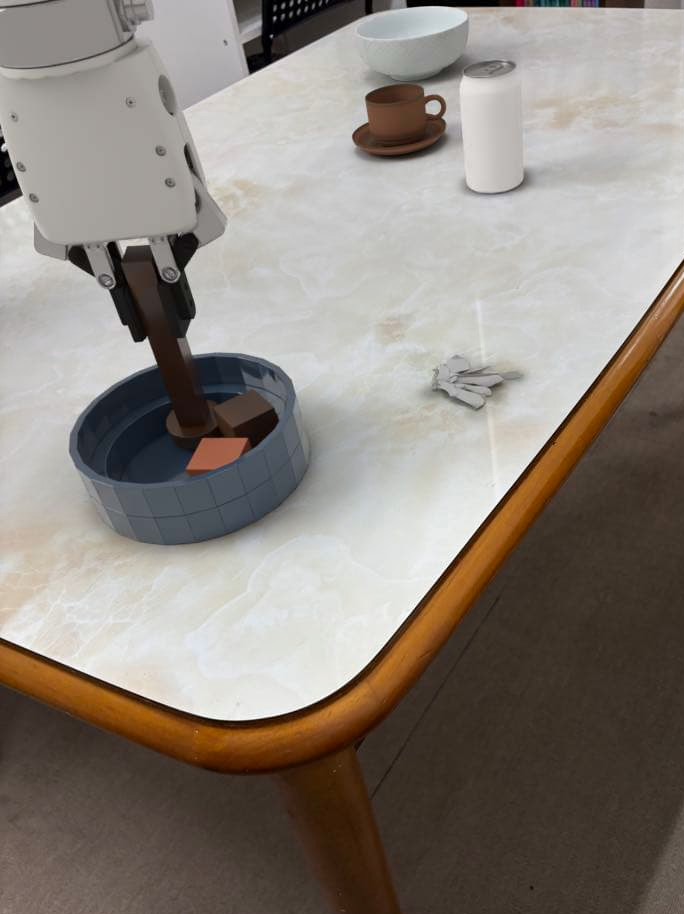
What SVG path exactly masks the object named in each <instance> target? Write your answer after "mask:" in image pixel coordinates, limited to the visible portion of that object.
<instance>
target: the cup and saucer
mask: <svg viewBox="0 0 684 914" xmlns="http://www.w3.org/2000/svg"><path fill="white" fill-rule="evenodd" d="M364 101H365V107H366V115H367V120H368V121H367V122H365V123H363V124H361V125H360V126H359V127H357V128H355V130H354V131H353V132H352V135H351V139H352V143H353V144H354V145H355V146H356V147H357V148H358V149H360V150H361V151H363V152H366V153H368V154H372V155H380V156H396V155H404V154H409V153H413V152H414V153H415V152H417V151H420V150H423V149H425V148H427V147H429V146H432V145H433V144H435V143H436V142H437V141H438V140H439V139H441V137H443V135H444V133H446V129H447V122H446V120H445V119H444V118H443V117H444V115H445V113H446V111H447V103H446V100H445V99H444V97H443V96H442V95H440V94H435V93H433V94H428V95H426V96H425V88H424V87H423V86H421V85H418V84H415V83H396V84H389V85H385V86H382V87H378V88H375V89H373V90H371V91H369V92H368V93H367V94H366V95H365V96H364ZM431 101H436V102H439V104H440V110H439V112H438V113H436V114H433V113H428V112H427V108H426V107H427V106H426V105H427V104H428V103H429V102H431Z"/></svg>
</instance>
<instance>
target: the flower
mask: <svg viewBox="0 0 684 914" xmlns="http://www.w3.org/2000/svg"><path fill="white" fill-rule="evenodd" d="M435 365H436V366H435V367H434V368H431V371H432V374H433V376H432V378H431V380H430V386H431V388H430V390H435V389H436V387H437V388H438V389H439V390H440V389H442V390H444V391H446V392H447V393H448V395H449V396H450V397H451V398H456V399H458V400H461V401H463V402H464V403H466V404H468V405H470V406H471V407H474V408H475V409H478V408H480V407H482V406H484V403H485V399H484V398H483V397H482V396H481V395H480V394H479V393H483V394H484V396H485V397H489V396H492V394H493V393H492V391H491V389H490V388H489V387H492V386H494V385H496V384H499V383H500V382H502V381H503V380H506V381H507V380H508V381H509V380H513V379H518V378H520V377H522V376H524V374H523V373H522V372H519V371H507V372H505V373H501V374H500V371H494V370H490V371H485V370H487V369H489V368H491V366H490V365H487V366H483V367H479V368H475V369H471V370H470V361H468V360H467V359H466V358H465V357H462V356H460V355H458V354H454V355H453V356H452V357H451V358H450V359H449V360H448V361H447V362H445V363H444V364H442V363H441V361H437V364H435ZM465 371H467V372H465ZM483 371H485V372H483ZM459 372H465V373H459ZM480 372H481V373H480ZM473 384H475V385H473ZM468 390H470V391H468Z"/></svg>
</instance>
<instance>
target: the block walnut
mask: <svg viewBox="0 0 684 914" xmlns="http://www.w3.org/2000/svg"><path fill="white" fill-rule="evenodd" d="M212 409H213V412H214V415H215V418H216V421H217V424H218V427H219V429H220V432H221V435H222V438H248V439H249V442H250V445H251V449H253V448H255V447H257V446H258V445H259V444H260V443H261V442H262V441H263V440H264V439H265V438H266V437H267V436H268V435H269V434H270V433H271V432H272V431H273V430H274V429H275V428H276V426H277V424H278V423H279V422H278V419H277V415H276V412H275V408H274V407H273V406H272V405H271V404H270V403H269V402H267V401H266V400H265V399H264V398H263V397H262V396H260V395H259V394H258V393H257V392H256V391H255V390H254V389H251V390H249V391H247V392H245V393H243V394H240V395H238V396H236V397H234V398H232V399H230V400H228V401H226V402H224V403H222V404H219V405H217V406H215V407H213V408H212Z"/></svg>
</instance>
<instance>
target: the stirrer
mask: <svg viewBox="0 0 684 914" xmlns="http://www.w3.org/2000/svg"><path fill="white" fill-rule="evenodd" d="M123 255H124V256H123V258H122V261H121V266H122V268H123V271H124V274H125V277H126V279H127V282H128V285H129V288H130V290H131V293H132V296H133V299H134V302H135V304H136V307H137V310H138V312H139V315H140V317H141V320H142V322H143V325H144V327H145V329H146V332H147V334H148V335H147V337H146V339H147V340H148V343H149V346H150V349H151V351H152V354H153V357H154V361H155V362H156V364H157V365H158V368H159V371H160V374H161V377H162V379H163V382H164V385H165V388H166V390H167V393H168V396H169V399H170V401H171V404H172V407H173V410H172V411H171V412H170V413H169V415H168V417H167V420H166V426H167V429H168V432H169V435H170V437H171V439H172V441H173V442H174V443H175V444H176V445H178V446H180V447H183V448H188V449H196V448H198V446H199V444H200V442H201V440H202V438H221V436H222V435H221V432H220V429H219V427H218V424H217V421H216V418H215V415H214V412H213V409H212V408H213V407H215V406H217V405H219V404H217V403H216V402H214V401H211V400H207V399H206V397H205V394H204V391H203V388H202V384H201V381H200V378H199V375H198V372H197V369H196V366H195V362H194V359H193V356H192V355H193V353H192V350H191V347H190V343H189V341H188V338H187V335H186V336H185V338H178V339H177V338H176V337H173V335H172V333H171V330H170V327H169V324H168V321H167V318H166V315H165V312H164V309H163V306H162V303H161V300H160V297H159V295H158V292H157V284H159V282H160V277H159V274H158V272H159V270H158V267H157V264H156V261H155V258H154V256H153V253H152V250H151V247H150V244H139V245H127V246H126V248H125V250H124V252H123Z"/></svg>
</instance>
